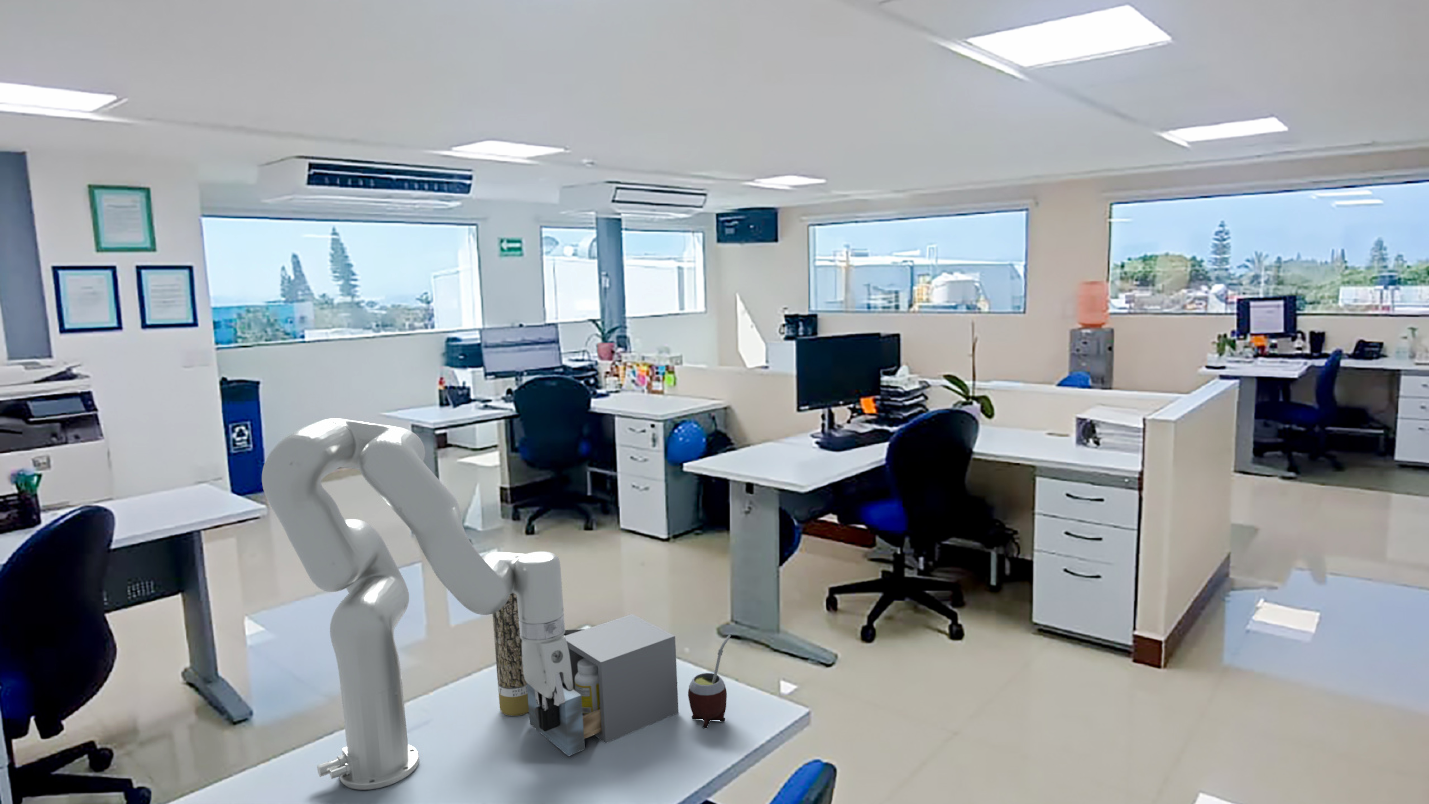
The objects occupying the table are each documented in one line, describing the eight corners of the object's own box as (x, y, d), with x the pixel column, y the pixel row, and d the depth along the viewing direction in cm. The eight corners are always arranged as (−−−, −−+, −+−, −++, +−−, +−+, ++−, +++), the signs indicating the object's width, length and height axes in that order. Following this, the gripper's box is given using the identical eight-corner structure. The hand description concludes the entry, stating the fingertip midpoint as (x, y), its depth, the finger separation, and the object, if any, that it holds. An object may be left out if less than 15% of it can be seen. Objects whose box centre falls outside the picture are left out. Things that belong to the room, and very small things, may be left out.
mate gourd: (685, 728, 155) (682, 650, 153) (695, 706, 163) (692, 632, 161) (725, 731, 154) (722, 652, 152) (733, 709, 161) (731, 634, 159)
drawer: (560, 759, 146) (556, 704, 144) (521, 727, 157) (518, 675, 155) (653, 719, 157) (651, 668, 156) (612, 692, 169) (609, 644, 167)
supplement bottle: (602, 702, 161) (599, 653, 160) (609, 715, 156) (606, 665, 155) (574, 708, 159) (570, 659, 158) (580, 722, 154) (577, 671, 153)
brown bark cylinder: (540, 700, 168) (532, 578, 164) (529, 718, 161) (520, 591, 157) (506, 699, 168) (497, 578, 165) (494, 717, 162) (484, 591, 158)
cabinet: (605, 743, 151) (601, 662, 149) (565, 713, 162) (560, 637, 160) (678, 712, 161) (675, 635, 159) (635, 685, 172) (632, 614, 170)
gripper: (583, 632, 141) (590, 736, 144) (541, 607, 153) (549, 704, 155) (542, 646, 136) (550, 753, 139) (502, 619, 148) (510, 718, 151)
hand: (549, 726), depth 147 cm, fingers closed
